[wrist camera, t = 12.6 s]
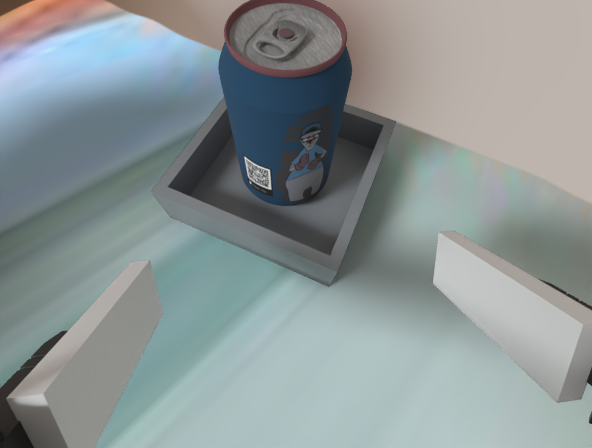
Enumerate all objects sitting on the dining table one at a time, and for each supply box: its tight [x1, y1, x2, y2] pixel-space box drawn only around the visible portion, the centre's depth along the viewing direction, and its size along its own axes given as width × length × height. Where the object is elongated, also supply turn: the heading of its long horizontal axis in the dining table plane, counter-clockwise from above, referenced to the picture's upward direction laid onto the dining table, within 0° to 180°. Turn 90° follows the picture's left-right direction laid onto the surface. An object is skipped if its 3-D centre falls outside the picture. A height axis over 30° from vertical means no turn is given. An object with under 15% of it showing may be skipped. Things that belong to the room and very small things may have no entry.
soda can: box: [219, 0, 352, 206], centre depth 19 cm, size 7×7×12 cm
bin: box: [151, 97, 396, 286], centre depth 24 cm, size 14×14×4 cm
